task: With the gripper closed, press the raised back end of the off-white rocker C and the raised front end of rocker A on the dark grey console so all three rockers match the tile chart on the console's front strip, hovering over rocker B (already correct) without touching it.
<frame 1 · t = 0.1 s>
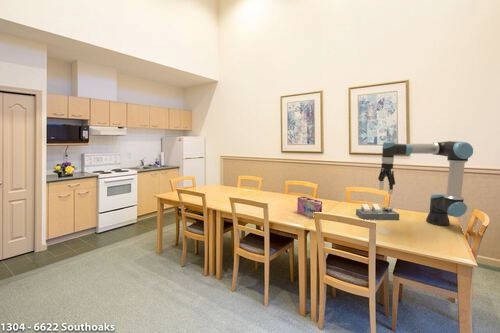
hand: (385, 191, 191), 28 cm above the table, fingers open, 13 cm apart
console: (376, 217, 220), on the table
switch b: (376, 207, 220), point 8 cm above the table, hinge at -20.0°
switch a: (387, 208, 220), point 8 cm above the table, hinge at 20.0°
switch c: (365, 207, 220), point 8 cm above the table, hinge at -20.0°
gum box: (309, 214, 227), on the table
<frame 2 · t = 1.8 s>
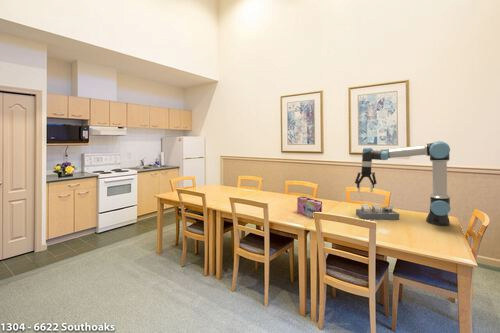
hand: (365, 191, 222), 21 cm above the table, fingers open, 10 cm apart
nothing on the table moved.
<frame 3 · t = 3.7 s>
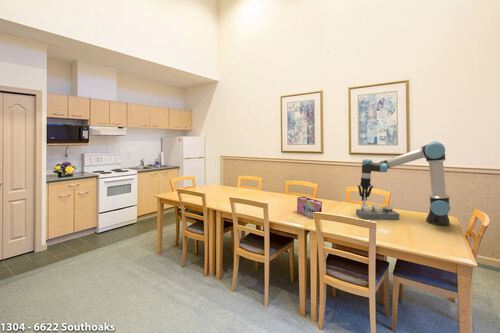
hand: (363, 204, 224), 10 cm above the table, fingers closed
switch c: (365, 207, 220), point 8 cm above the table, hinge at -11.7°, touching gripper
everything else where it was.
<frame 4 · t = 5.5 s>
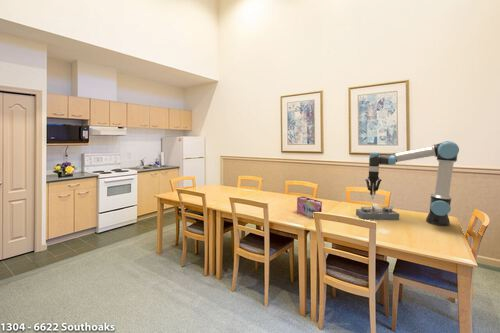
hand: (372, 198, 219), 16 cm above the table, fingers closed
switch c: (365, 207, 220), point 8 cm above the table, hinge at 15.0°
everything else where it was.
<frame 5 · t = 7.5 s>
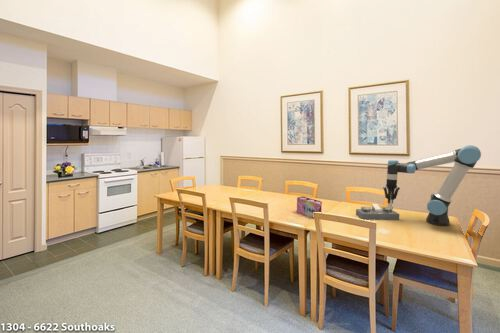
hand: (390, 207, 215), 10 cm above the table, fingers closed
switch a: (387, 208, 220), point 8 cm above the table, hinge at 15.5°, touching gripper
switch c: (365, 207, 220), point 8 cm above the table, hinge at 15.8°
everything else where it was.
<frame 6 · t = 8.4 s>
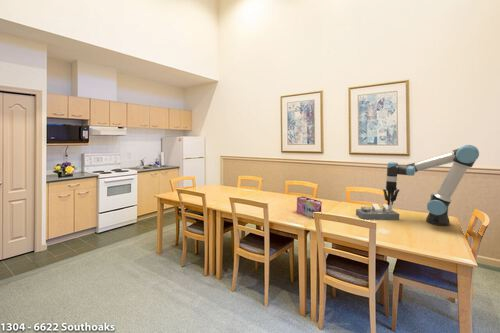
hand: (389, 209, 216), 8 cm above the table, fingers closed
switch a: (387, 208, 220), point 8 cm above the table, hinge at -19.8°
everything else where it was.
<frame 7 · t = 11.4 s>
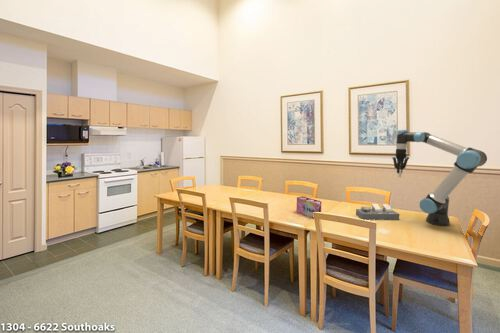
hand: (399, 177, 216), 34 cm above the table, fingers closed
switch a: (387, 208, 220), point 8 cm above the table, hinge at -19.4°
everything else where it was.
at the end: switch c at +16° (first picture: -20°); switch a at -19° (first picture: +20°); switch b at -20° (first picture: -20°) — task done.
